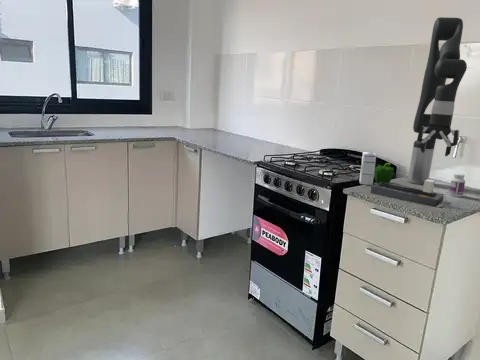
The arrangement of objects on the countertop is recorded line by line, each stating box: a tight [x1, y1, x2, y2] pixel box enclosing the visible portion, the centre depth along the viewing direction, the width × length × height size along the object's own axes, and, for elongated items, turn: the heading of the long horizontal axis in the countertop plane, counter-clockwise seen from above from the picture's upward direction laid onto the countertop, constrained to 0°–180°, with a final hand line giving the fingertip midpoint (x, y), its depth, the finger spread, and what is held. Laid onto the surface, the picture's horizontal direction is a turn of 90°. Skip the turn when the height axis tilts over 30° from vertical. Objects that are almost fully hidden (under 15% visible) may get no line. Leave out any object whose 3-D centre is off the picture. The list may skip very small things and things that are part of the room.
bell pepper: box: [374, 162, 395, 184], centre depth 186 cm, size 8×8×10 cm
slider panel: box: [370, 182, 445, 208], centre depth 164 cm, size 12×26×4 cm, turn 51°
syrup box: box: [358, 151, 377, 186], centre depth 182 cm, size 6×6×14 cm
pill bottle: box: [448, 172, 466, 198], centre depth 171 cm, size 5×5×10 cm
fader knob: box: [422, 178, 436, 194], centre depth 158 cm, size 4×3×5 cm
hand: (434, 154), depth 155 cm, fingers open, 8 cm apart
